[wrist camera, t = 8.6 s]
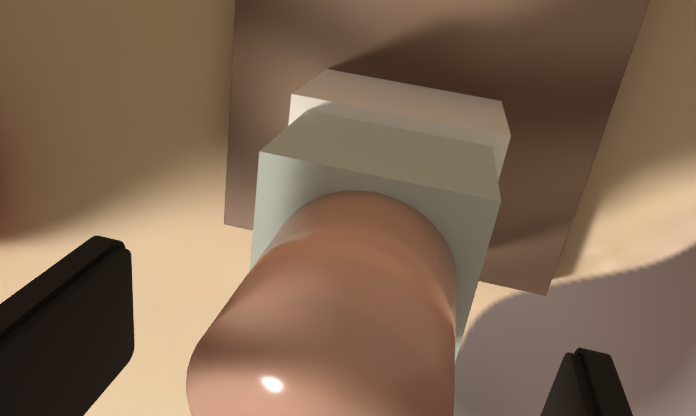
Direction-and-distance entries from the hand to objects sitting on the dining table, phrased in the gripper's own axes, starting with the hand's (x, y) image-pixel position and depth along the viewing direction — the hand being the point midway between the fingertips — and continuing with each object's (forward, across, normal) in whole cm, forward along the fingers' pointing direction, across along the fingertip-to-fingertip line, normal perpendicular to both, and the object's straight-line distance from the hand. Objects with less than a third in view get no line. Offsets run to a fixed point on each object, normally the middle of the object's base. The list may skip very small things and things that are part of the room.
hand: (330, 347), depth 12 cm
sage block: (+8, 0, 0) cm, 8 cm away
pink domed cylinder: (+3, 0, 0) cm, 3 cm away
